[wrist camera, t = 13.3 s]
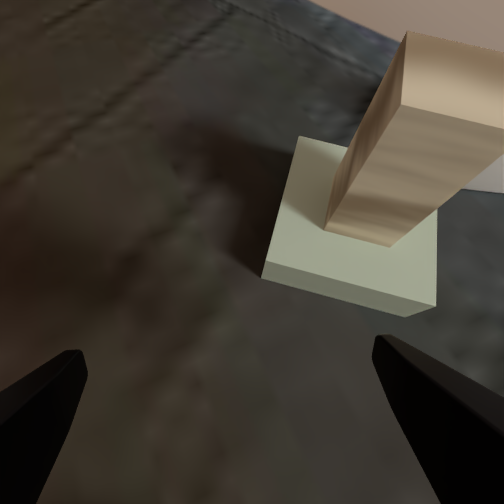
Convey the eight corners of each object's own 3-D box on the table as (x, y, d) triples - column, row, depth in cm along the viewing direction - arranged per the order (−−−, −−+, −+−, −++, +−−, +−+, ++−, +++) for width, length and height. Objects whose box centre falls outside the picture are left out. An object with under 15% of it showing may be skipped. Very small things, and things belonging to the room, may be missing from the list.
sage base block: (404, 317, 24) (435, 306, 20) (260, 278, 24) (265, 260, 21) (411, 196, 28) (437, 170, 25) (290, 166, 29) (299, 135, 25)
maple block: (389, 247, 22) (527, 134, 12) (323, 230, 22) (400, 104, 12) (394, 192, 24) (515, 55, 14) (333, 177, 24) (407, 30, 14)
